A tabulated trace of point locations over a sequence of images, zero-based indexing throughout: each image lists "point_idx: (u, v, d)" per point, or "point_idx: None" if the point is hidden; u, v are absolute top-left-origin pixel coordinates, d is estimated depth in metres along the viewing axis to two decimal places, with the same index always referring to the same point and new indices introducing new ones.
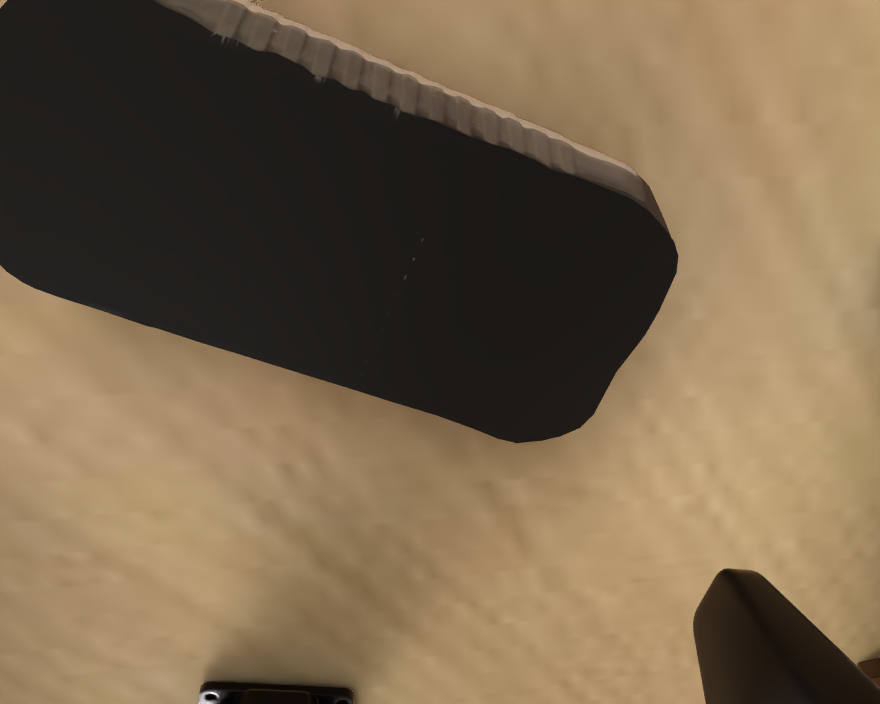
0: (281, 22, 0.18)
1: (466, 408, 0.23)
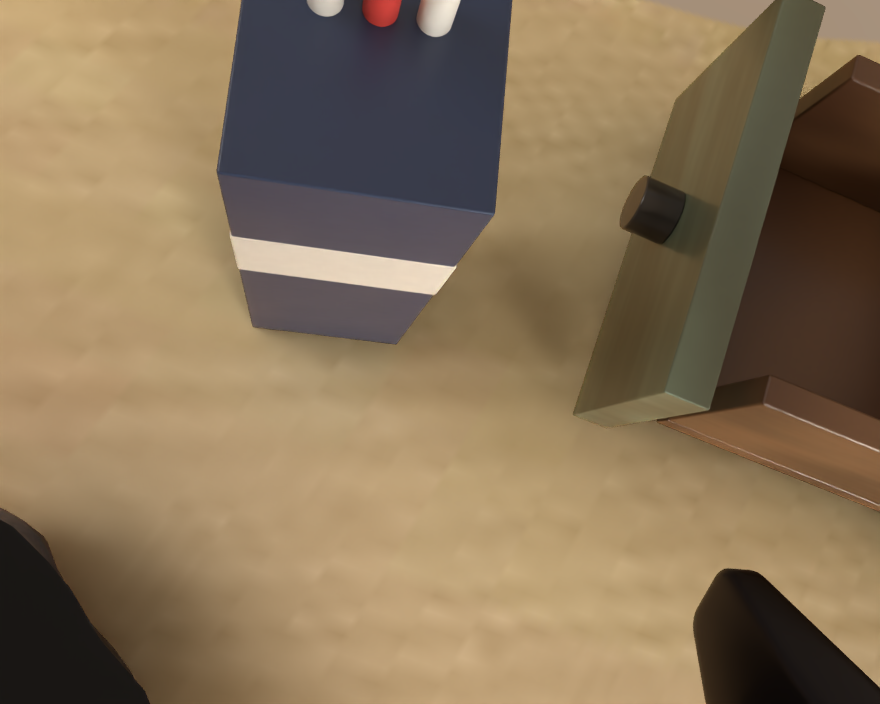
0: None
1: None
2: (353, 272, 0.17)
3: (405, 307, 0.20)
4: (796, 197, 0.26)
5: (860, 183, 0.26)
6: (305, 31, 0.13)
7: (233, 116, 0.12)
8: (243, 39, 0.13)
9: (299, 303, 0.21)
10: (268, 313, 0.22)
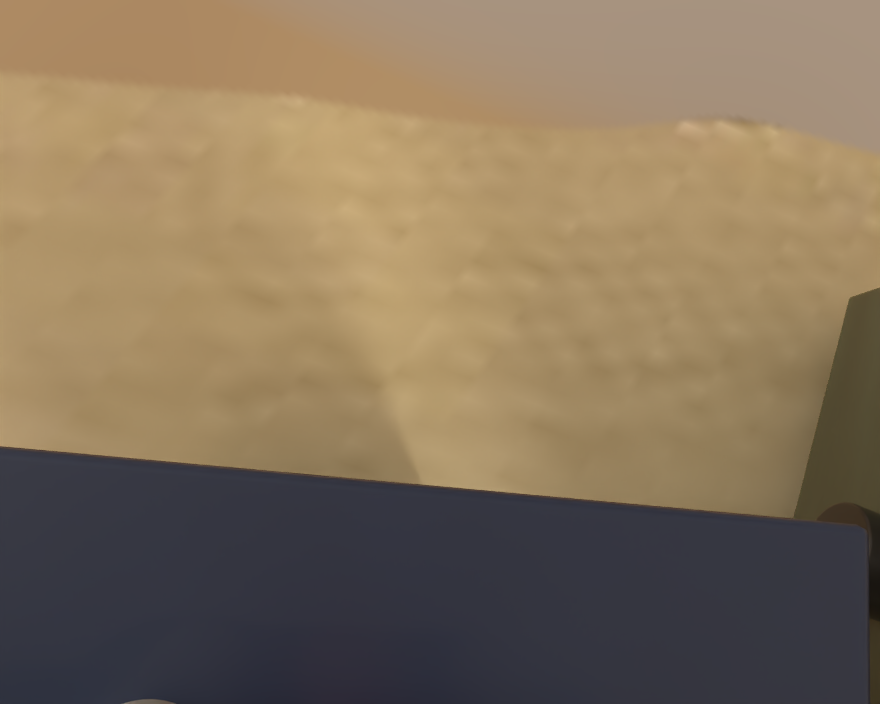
0: None
1: None
2: None
3: None
4: None
5: None
6: None
7: None
8: None
9: None
10: None
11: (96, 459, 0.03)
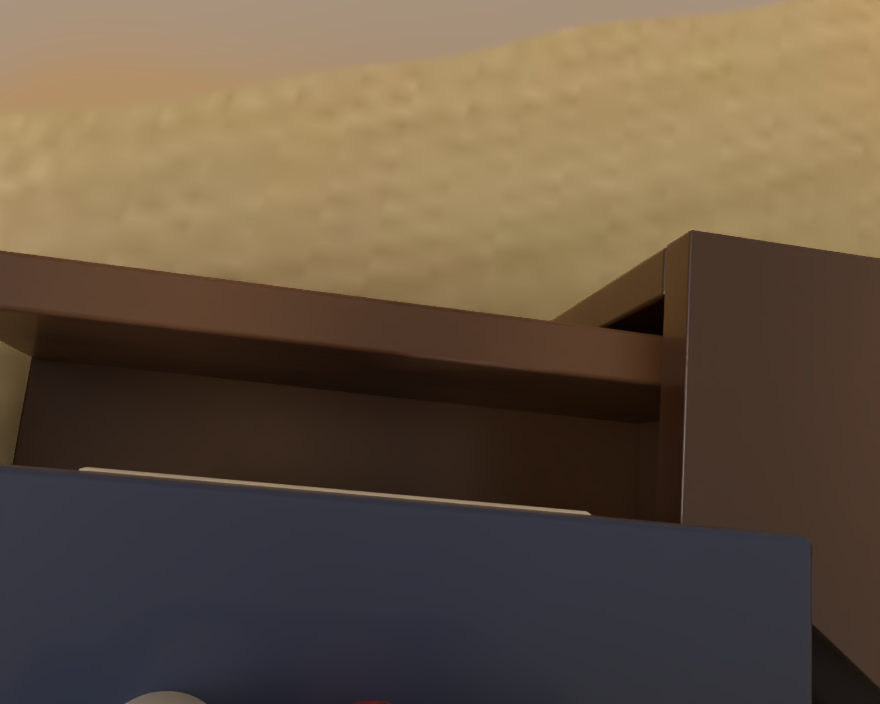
0: None
1: None
2: None
3: None
4: (136, 406, 0.16)
5: (210, 371, 0.15)
6: None
7: None
8: None
9: None
10: None
11: (119, 479, 0.04)
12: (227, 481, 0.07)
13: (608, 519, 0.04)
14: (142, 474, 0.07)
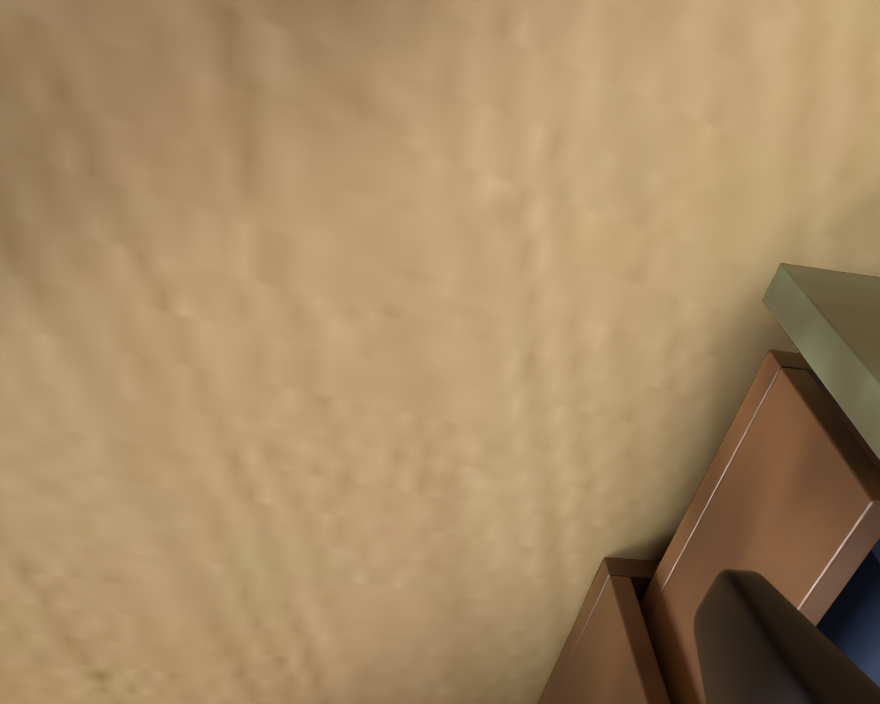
0: None
1: None
2: None
3: None
4: None
5: None
6: None
7: None
8: None
9: (864, 612, 0.22)
10: None
11: None
12: None
13: None
14: None
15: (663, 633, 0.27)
